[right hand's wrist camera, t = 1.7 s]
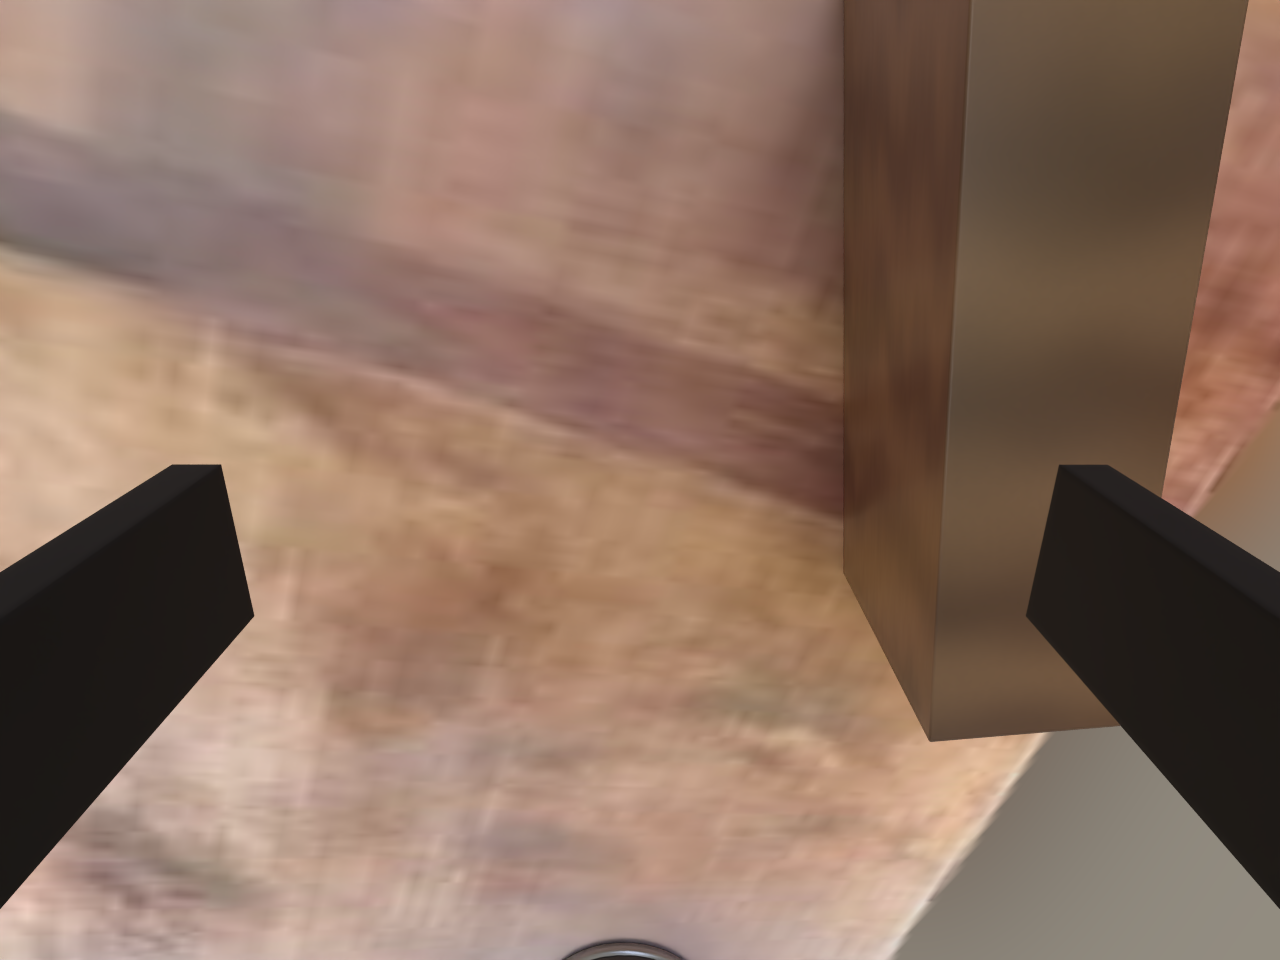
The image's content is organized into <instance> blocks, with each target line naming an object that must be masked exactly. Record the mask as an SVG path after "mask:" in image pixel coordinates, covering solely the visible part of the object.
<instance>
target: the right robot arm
mask: <svg viewBox="0 0 1280 960" xmlns="http://www.w3.org/2000/svg"><path fill="white" fill-rule="evenodd" d="M253 617H254V612H253V608H252V603H251V599H250V594H249V590H248V585H247V581H246V576H245V571H244V567H243V562H242V558H241V553H240V549H239V544H238V540H237V535H236V530H235V526H234V521H233V517H232V512H231V508H230V503H229V499H228V494H227V489H226V485H225V480H224V476H223V471H222V467H221V465H171V466H169V467H168V468H166V469H164V470H163V471H161V472H160V473H158V474H156V475H155V476H153V477H152V478H150V479H148V480H147V481H145V482H144V483H142V484H140V485H139V486H137V487H136V488H134V489H132V490H131V491H129V492H128V493H126V494H124V495H123V496H121V497H120V498H118V499H117V500H115V501H113V502H112V503H110V504H109V505H107V506H105V507H104V508H102V509H101V510H99V511H97V512H96V513H94V514H93V515H91V516H89V517H88V518H86V519H85V520H83V521H81V522H80V523H78V524H77V525H75V526H73V527H72V528H70V529H69V530H67V531H65V532H64V533H62V534H61V535H59V536H57V537H56V538H54V539H53V540H51V541H49V542H48V543H46V544H45V545H43V546H42V547H40V548H38V549H37V550H35V551H34V552H32V553H30V554H29V555H27V556H26V557H24V558H22V559H21V560H19V561H18V562H16V563H14V564H13V565H11V566H10V567H8V568H6V569H5V570H3V571H2V572H0V909H1V908H2V906H3V905H4V904H5V903H6V902H7V901H8V899H9V898H10V897H11V896H12V895H13V894H14V893H15V891H16V890H17V889H18V888H19V887H20V886H21V884H22V883H23V882H24V881H25V880H26V879H27V878H28V876H29V875H30V874H31V873H32V872H33V871H34V870H35V868H36V867H37V866H38V865H39V864H40V863H41V861H42V860H43V859H44V858H45V857H46V856H47V855H48V853H49V852H50V851H51V850H52V849H53V848H54V846H55V845H56V844H57V843H58V842H59V841H60V840H61V838H62V837H63V836H64V835H65V834H66V833H67V831H68V830H69V829H70V828H71V827H72V826H73V825H74V823H75V822H76V821H77V820H78V819H79V818H80V816H81V815H82V814H83V813H84V812H85V811H86V810H87V808H88V807H89V806H90V805H91V804H92V803H93V801H94V800H95V799H96V798H97V797H98V796H99V795H100V793H101V792H102V791H103V790H104V789H105V788H106V787H107V785H108V784H109V783H110V782H111V781H112V780H113V778H114V777H115V776H116V775H117V774H118V773H119V772H120V770H121V769H122V768H123V767H124V766H125V765H126V763H127V762H128V761H129V760H130V759H131V758H132V757H133V755H134V754H135V753H136V752H137V751H138V750H139V748H140V747H141V746H142V745H143V744H144V743H145V742H146V740H147V739H148V738H149V737H150V736H151V735H152V733H153V732H154V731H155V730H156V729H157V728H158V727H159V725H160V724H161V723H162V722H163V721H164V720H165V718H166V717H167V716H168V715H169V714H170V713H171V712H172V710H173V709H174V708H175V707H176V706H177V705H178V704H179V702H180V701H181V700H182V699H183V698H184V697H185V695H186V694H187V693H188V692H189V691H190V690H191V689H192V687H193V686H194V685H195V684H196V683H197V682H198V680H199V679H200V678H201V677H202V676H203V675H204V674H205V672H206V671H207V670H208V669H209V668H210V667H211V665H212V664H213V663H214V662H215V661H216V660H217V659H218V657H219V656H220V655H221V654H222V653H223V652H224V650H225V649H226V648H227V647H228V646H229V645H230V644H231V642H232V641H233V640H234V639H235V638H236V637H237V635H238V634H239V633H240V632H241V631H242V630H243V629H244V627H245V626H246V625H247V624H248V623H249V622H250V620H251V619H252V618H253ZM1026 617H1027V618H1028V619H1029V620H1030V622H1031V623H1032V624H1033V625H1034V626H1035V627H1036V629H1037V630H1038V631H1039V632H1040V633H1041V634H1042V635H1043V637H1044V638H1045V639H1046V640H1047V641H1048V642H1049V644H1050V645H1051V646H1052V647H1053V648H1054V649H1055V650H1056V652H1057V653H1058V654H1059V655H1060V656H1061V657H1062V659H1063V660H1064V661H1065V662H1066V663H1067V664H1068V665H1069V667H1070V668H1071V669H1072V670H1073V671H1074V672H1075V674H1076V675H1077V676H1078V677H1079V678H1080V679H1081V680H1082V682H1083V683H1084V684H1085V685H1086V686H1087V687H1088V689H1089V690H1090V691H1091V692H1092V693H1093V694H1094V695H1095V697H1096V698H1097V699H1098V700H1099V701H1100V702H1101V703H1102V705H1103V706H1104V707H1105V708H1106V709H1107V710H1108V712H1109V713H1110V714H1111V715H1112V716H1113V717H1114V718H1115V720H1116V721H1117V722H1118V723H1119V724H1120V725H1121V727H1122V728H1123V729H1124V730H1125V731H1126V732H1127V733H1128V735H1129V736H1130V737H1131V738H1132V739H1133V740H1134V742H1135V743H1136V744H1137V745H1138V746H1139V747H1140V748H1141V750H1142V751H1143V752H1144V753H1145V754H1146V755H1147V757H1148V758H1149V759H1150V760H1151V761H1152V762H1153V763H1154V765H1155V766H1156V767H1157V768H1158V769H1159V770H1160V771H1161V773H1162V774H1163V775H1164V776H1165V777H1166V778H1167V780H1168V781H1169V782H1170V783H1171V784H1172V785H1173V787H1174V788H1175V789H1176V790H1177V791H1178V792H1179V793H1180V795H1181V796H1182V797H1183V798H1184V799H1185V800H1186V801H1187V803H1188V804H1189V805H1190V806H1191V807H1192V808H1193V809H1194V811H1195V812H1196V813H1197V814H1198V815H1199V816H1200V818H1201V819H1202V820H1203V821H1204V822H1205V823H1206V824H1207V826H1208V827H1209V828H1210V829H1211V830H1212V831H1213V833H1214V834H1215V835H1216V836H1217V837H1218V838H1219V839H1220V841H1221V842H1222V843H1223V844H1224V845H1225V846H1226V848H1227V849H1228V850H1229V851H1230V852H1231V853H1232V855H1233V856H1234V857H1235V858H1236V859H1237V860H1238V861H1239V863H1240V864H1241V865H1242V866H1243V867H1244V868H1245V870H1246V871H1247V872H1248V873H1249V874H1250V875H1251V876H1252V878H1253V879H1254V880H1255V881H1256V882H1257V883H1258V884H1259V886H1260V887H1261V888H1262V889H1263V890H1264V891H1265V893H1266V894H1267V895H1268V896H1269V897H1270V898H1271V899H1272V901H1273V902H1274V903H1275V904H1276V905H1277V906H1278V908H1279V909H1280V572H1278V571H1277V570H1275V569H1274V568H1272V567H1270V566H1269V565H1267V564H1266V563H1264V562H1262V561H1261V560H1259V559H1258V558H1256V557H1254V556H1253V555H1251V554H1250V553H1248V552H1246V551H1245V550H1243V549H1242V548H1240V547H1238V546H1237V545H1235V544H1234V543H1232V542H1231V541H1229V540H1227V539H1226V538H1224V537H1223V536H1221V535H1219V534H1218V533H1216V532H1215V531H1213V530H1211V529H1210V528H1208V527H1207V526H1205V525H1203V524H1202V523H1200V522H1199V521H1197V520H1195V519H1194V518H1192V517H1191V516H1189V515H1187V514H1186V513H1184V512H1183V511H1181V510H1179V509H1178V508H1176V507H1175V506H1173V505H1171V504H1170V503H1168V502H1167V501H1165V500H1163V499H1162V498H1160V497H1159V496H1157V495H1156V494H1154V493H1152V492H1151V491H1149V490H1148V489H1146V488H1144V487H1143V486H1141V485H1140V484H1138V483H1136V482H1135V481H1133V480H1132V479H1130V478H1128V477H1127V476H1125V475H1124V474H1122V473H1120V472H1119V471H1117V470H1116V469H1114V468H1112V467H1111V466H1109V465H1059V467H1058V471H1057V476H1056V480H1055V485H1054V489H1053V494H1052V499H1051V503H1050V508H1049V512H1048V517H1047V521H1046V526H1045V530H1044V535H1043V540H1042V544H1041V549H1040V553H1039V558H1038V562H1037V567H1036V571H1035V576H1034V581H1033V585H1032V590H1031V594H1030V599H1029V603H1028V608H1027V612H1026Z"/></svg>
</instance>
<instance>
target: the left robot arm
mask: <svg viewBox="0 0 1280 960" xmlns="http://www.w3.org/2000/svg"><path fill="white" fill-rule="evenodd" d="M566 960H682V959H681V958H679V957H677V956H676V955H674V954H672V953H670V952H668V951H665V950H663V949H660V948H657V947H653V946H649V945H644V944H637V943H611V944H604V945H599V946H595V947H591V948H588V949H585V950H582V951H580V952H578V953H576V954H574V955H572V956H570V957H569V958H567V959H566Z"/></svg>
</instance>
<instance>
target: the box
mask: <svg viewBox="0 0 1280 960" xmlns="http://www.w3.org/2000/svg"><path fill="white" fill-rule="evenodd" d="M1247 6H1248V0H844V575H845V577H846V579H847V581H848V583H849V585H850V586H851V588H852V590H853V592H854V594H855V596H856V598H857V600H858V602H859V604H860V606H861V608H862V610H863V612H864V614H865V616H866V618H867V620H868V622H869V624H870V626H871V628H872V630H873V632H874V634H875V636H876V638H877V640H878V641H879V643H880V645H881V647H882V649H883V651H884V653H885V655H886V657H887V659H888V661H889V663H890V665H891V667H892V669H893V671H894V673H895V675H896V677H897V679H898V681H899V683H900V685H901V687H902V689H903V691H904V693H905V695H906V696H907V698H908V700H909V702H910V704H911V706H912V708H913V710H914V712H915V714H916V716H917V718H918V720H919V722H920V724H921V726H922V728H923V730H924V732H925V734H926V736H927V738H928V740H929V741H930V742H935V741H947V740H958V739H970V738H982V737H994V736H1006V735H1018V734H1030V733H1042V732H1054V731H1065V730H1077V729H1089V728H1101V727H1113V726H1120V724H1119V723H1118V722H1117V721H1116V720H1115V718H1114V717H1113V716H1112V715H1111V714H1110V713H1109V712H1108V710H1107V709H1106V708H1105V707H1104V706H1103V705H1102V703H1101V702H1100V701H1099V700H1098V699H1097V698H1096V697H1095V695H1094V694H1093V693H1092V692H1091V691H1090V690H1089V689H1088V687H1087V686H1086V685H1085V684H1084V683H1083V682H1082V680H1081V679H1080V678H1079V677H1078V676H1077V675H1076V674H1075V672H1074V671H1073V670H1072V669H1071V668H1070V667H1069V665H1068V664H1067V663H1066V662H1065V661H1064V660H1063V659H1062V657H1061V656H1060V655H1059V654H1058V653H1057V652H1056V650H1055V649H1054V648H1053V647H1052V646H1051V645H1050V644H1049V642H1048V641H1047V640H1046V639H1045V638H1044V637H1043V635H1042V634H1041V633H1040V632H1039V631H1038V630H1037V629H1036V627H1035V626H1034V625H1033V624H1032V623H1031V622H1030V620H1029V619H1028V618H1027V617H1026V612H1027V608H1028V603H1029V599H1030V594H1031V590H1032V585H1033V581H1034V576H1035V571H1036V567H1037V562H1038V558H1039V553H1040V549H1041V544H1042V540H1043V535H1044V530H1045V526H1046V521H1047V517H1048V512H1049V508H1050V503H1051V499H1052V494H1053V489H1054V485H1055V480H1056V476H1057V471H1058V467H1059V465H1109V466H1111V467H1112V468H1114V469H1116V470H1117V471H1119V472H1120V473H1122V474H1124V475H1125V476H1127V477H1128V478H1130V479H1132V480H1133V481H1135V482H1136V483H1138V484H1140V485H1141V486H1143V487H1144V488H1146V489H1148V490H1149V491H1151V492H1152V493H1154V494H1156V495H1157V496H1159V497H1160V498H1161V496H1162V491H1163V485H1164V479H1165V474H1166V468H1167V462H1168V456H1169V451H1170V445H1171V439H1172V434H1173V428H1174V422H1175V417H1176V411H1177V405H1178V399H1179V394H1180V388H1181V382H1182V377H1183V371H1184V365H1185V359H1186V354H1187V348H1188V342H1189V337H1190V331H1191V325H1192V320H1193V314H1194V308H1195V302H1196V297H1197V291H1198V285H1199V280H1200V274H1201V268H1202V263H1203V257H1204V251H1205V245H1206V240H1207V234H1208V228H1209V223H1210V217H1211V211H1212V206H1213V200H1214V194H1215V188H1216V183H1217V177H1218V171H1219V166H1220V160H1221V154H1222V149H1223V143H1224V137H1225V131H1226V126H1227V120H1228V114H1229V109H1230V103H1231V97H1232V92H1233V86H1234V80H1235V74H1236V69H1237V63H1238V57H1239V52H1240V46H1241V40H1242V35H1243V29H1244V23H1245V17H1246V12H1247Z"/></svg>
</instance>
